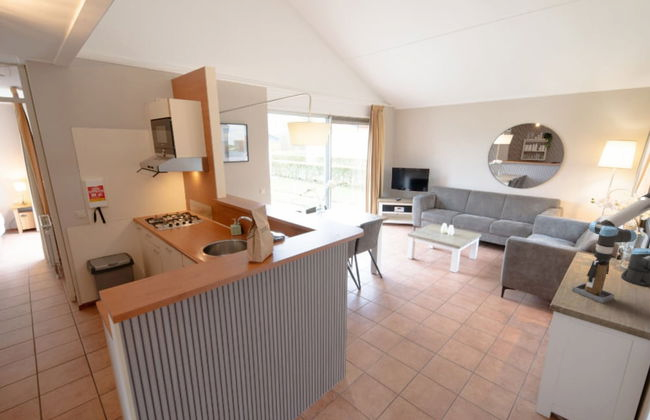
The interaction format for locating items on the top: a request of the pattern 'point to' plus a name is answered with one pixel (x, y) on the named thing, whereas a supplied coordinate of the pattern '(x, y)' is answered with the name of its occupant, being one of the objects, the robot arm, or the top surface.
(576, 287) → the tray
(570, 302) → the top surface
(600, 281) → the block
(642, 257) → the robot arm
